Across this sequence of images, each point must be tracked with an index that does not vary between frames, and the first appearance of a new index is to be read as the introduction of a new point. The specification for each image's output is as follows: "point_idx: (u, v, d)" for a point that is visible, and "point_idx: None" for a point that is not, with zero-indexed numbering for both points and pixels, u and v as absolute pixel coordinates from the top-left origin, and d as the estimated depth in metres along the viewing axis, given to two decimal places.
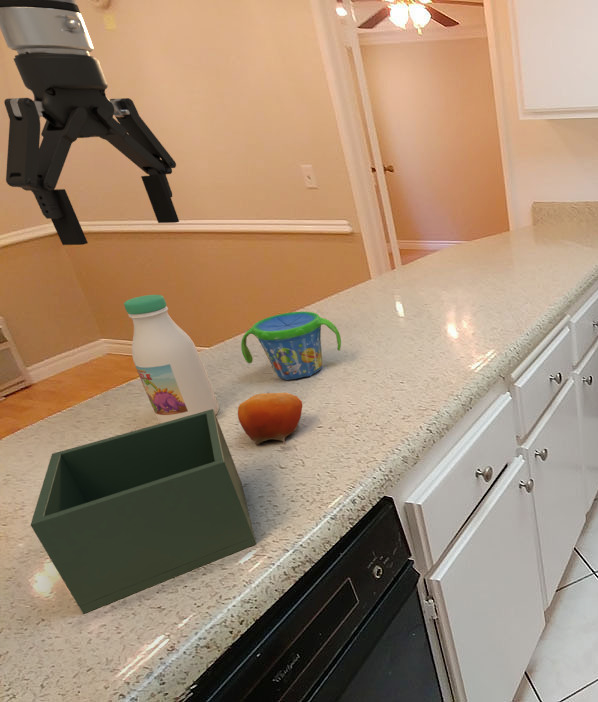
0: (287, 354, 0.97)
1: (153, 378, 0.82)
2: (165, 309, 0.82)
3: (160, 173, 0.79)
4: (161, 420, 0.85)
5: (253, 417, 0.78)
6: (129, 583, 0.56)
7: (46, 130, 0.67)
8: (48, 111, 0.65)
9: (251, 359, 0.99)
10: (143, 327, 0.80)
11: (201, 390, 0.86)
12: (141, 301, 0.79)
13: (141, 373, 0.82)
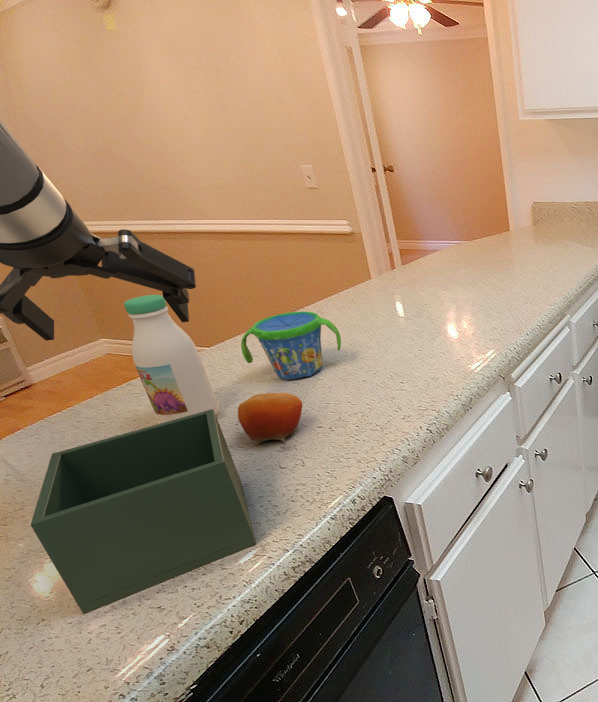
0: (287, 354, 0.97)
1: (153, 378, 0.82)
2: (165, 309, 0.82)
3: None
4: (161, 420, 0.85)
5: (253, 417, 0.78)
6: (129, 583, 0.56)
7: (108, 268, 0.62)
8: None
9: (251, 359, 0.99)
10: (143, 327, 0.80)
11: (200, 390, 0.86)
12: (141, 301, 0.79)
13: (141, 373, 0.82)
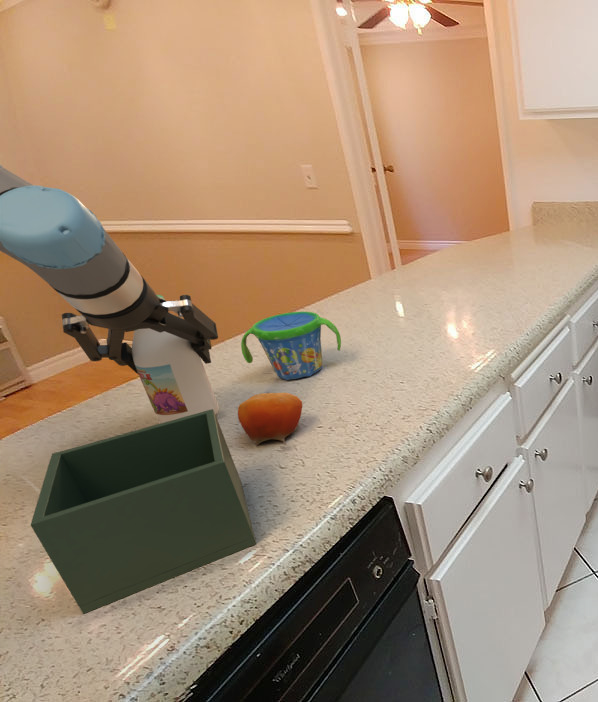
0: (287, 354, 0.97)
1: (153, 378, 0.82)
2: None
3: None
4: (161, 420, 0.85)
5: (253, 417, 0.78)
6: (129, 583, 0.56)
7: (165, 324, 0.77)
8: None
9: (251, 359, 0.99)
10: None
11: (200, 390, 0.86)
12: None
13: (141, 373, 0.82)
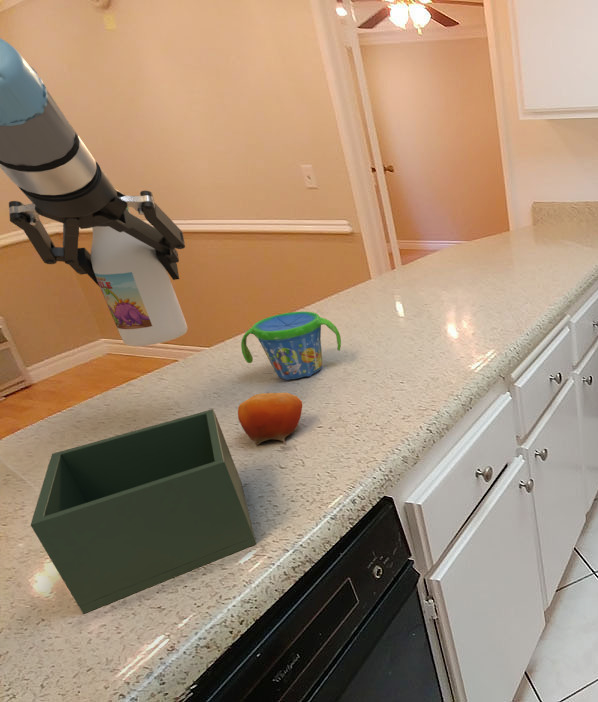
0: (287, 354, 0.97)
1: (114, 287, 0.76)
2: None
3: None
4: (123, 335, 0.79)
5: (253, 417, 0.78)
6: (129, 583, 0.56)
7: (125, 223, 0.71)
8: None
9: (251, 359, 0.99)
10: (103, 230, 0.75)
11: (166, 305, 0.80)
12: None
13: (101, 281, 0.76)
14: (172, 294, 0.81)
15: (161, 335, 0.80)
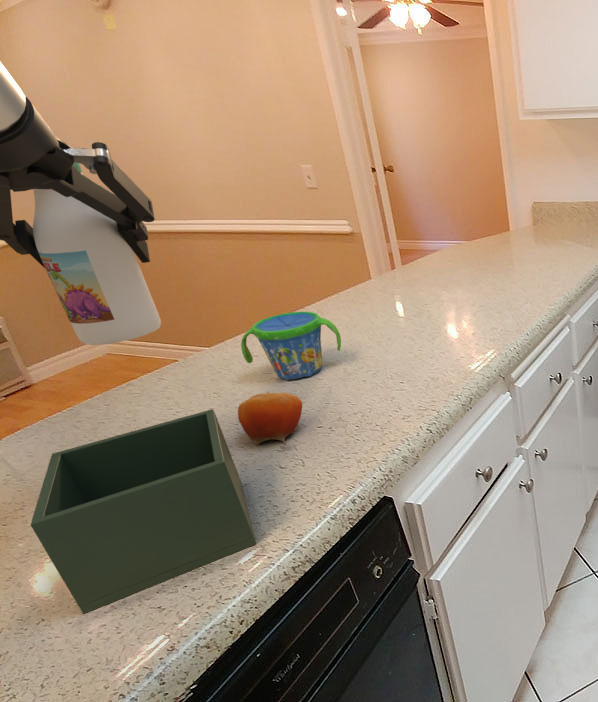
0: (287, 354, 0.97)
1: (63, 270, 0.60)
2: None
3: None
4: (78, 331, 0.63)
5: (253, 417, 0.78)
6: (129, 583, 0.56)
7: (73, 185, 0.55)
8: None
9: (251, 359, 0.99)
10: (47, 196, 0.58)
11: (133, 293, 0.64)
12: None
13: (46, 262, 0.60)
14: (140, 280, 0.65)
15: (126, 331, 0.64)
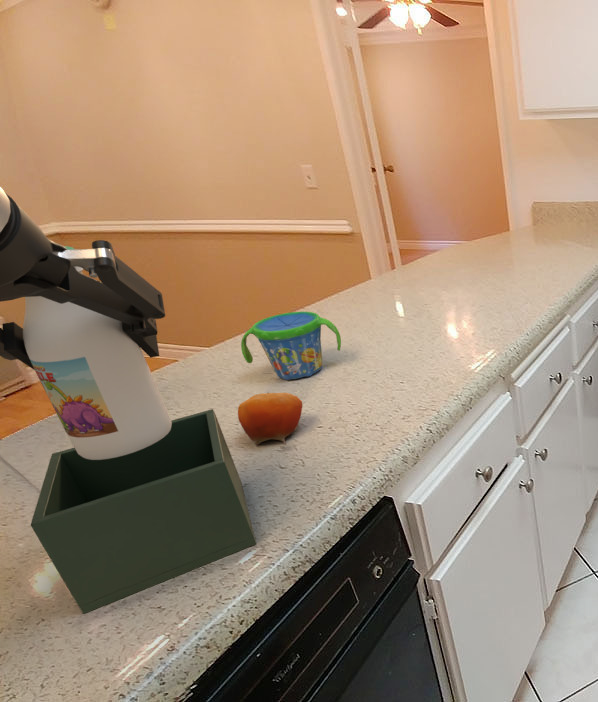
0: (287, 354, 0.97)
1: (58, 380, 0.51)
2: (77, 269, 0.51)
3: None
4: (76, 445, 0.54)
5: (253, 417, 0.78)
6: (129, 583, 0.56)
7: (69, 290, 0.46)
8: None
9: (251, 359, 0.99)
10: (39, 296, 0.49)
11: (140, 398, 0.55)
12: None
13: (39, 371, 0.51)
14: (148, 381, 0.56)
15: (132, 442, 0.55)
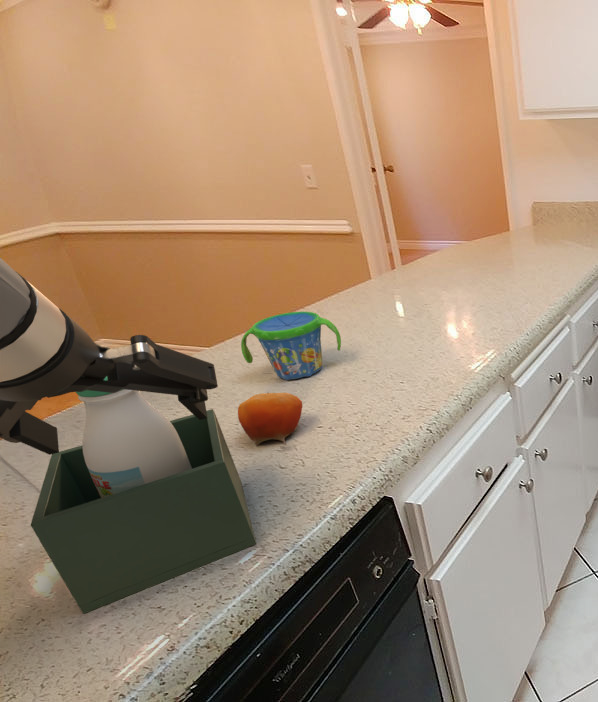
0: (287, 354, 0.97)
1: (113, 487, 0.56)
2: None
3: None
4: None
5: (253, 417, 0.78)
6: (129, 583, 0.56)
7: (117, 380, 0.50)
8: None
9: (251, 359, 0.99)
10: (100, 414, 0.54)
11: None
12: None
13: (96, 479, 0.56)
14: None
15: None
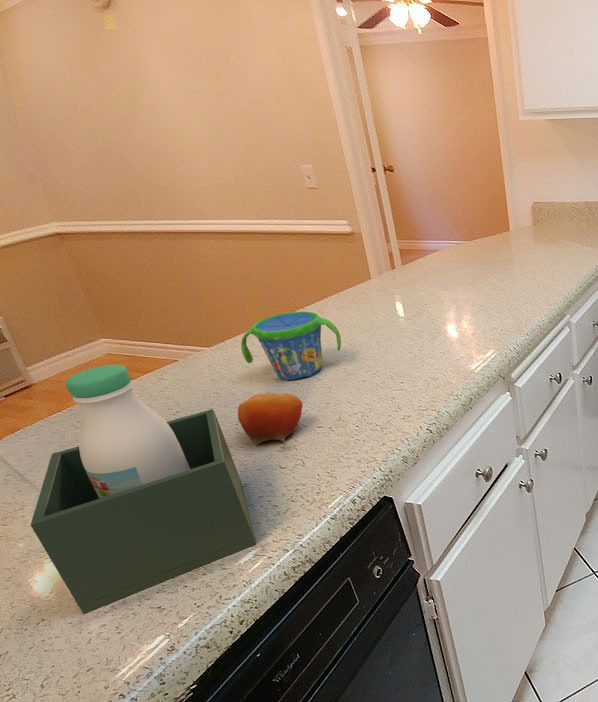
0: (287, 354, 0.97)
1: (111, 488, 0.56)
2: (128, 387, 0.56)
3: None
4: None
5: (253, 417, 0.78)
6: (129, 583, 0.56)
7: None
8: None
9: (251, 359, 0.99)
10: (95, 415, 0.54)
11: None
12: (91, 378, 0.54)
13: (93, 481, 0.56)
14: None
15: None
